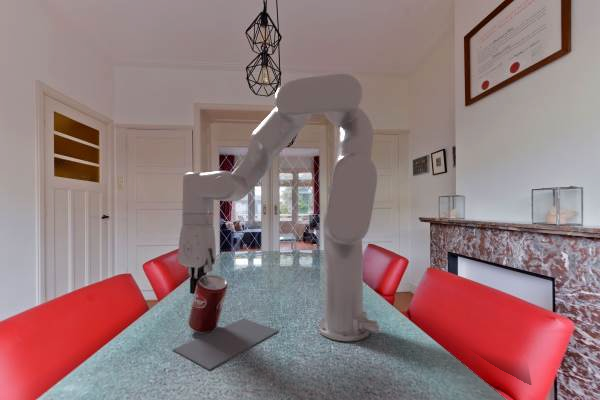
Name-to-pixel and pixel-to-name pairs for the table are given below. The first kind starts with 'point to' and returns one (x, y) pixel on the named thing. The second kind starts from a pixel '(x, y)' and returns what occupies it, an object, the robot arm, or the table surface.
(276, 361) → the table surface
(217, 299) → the soda can
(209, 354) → the placemat
